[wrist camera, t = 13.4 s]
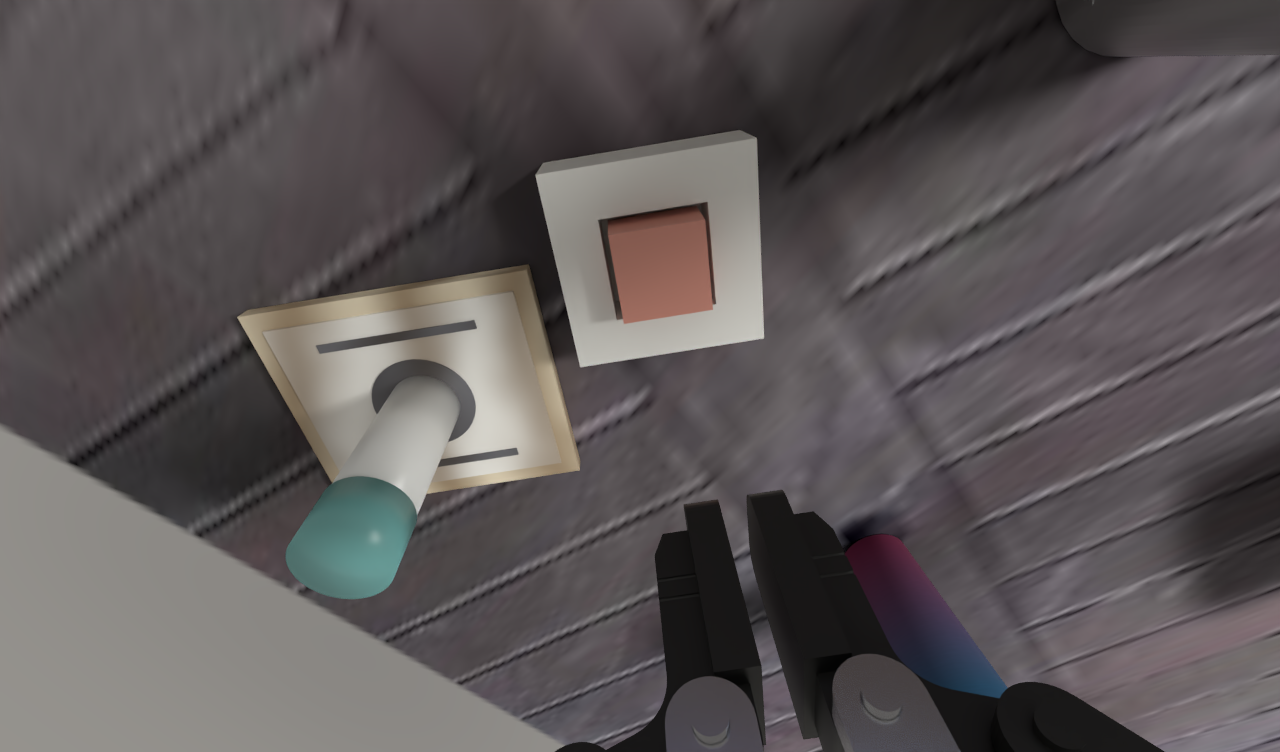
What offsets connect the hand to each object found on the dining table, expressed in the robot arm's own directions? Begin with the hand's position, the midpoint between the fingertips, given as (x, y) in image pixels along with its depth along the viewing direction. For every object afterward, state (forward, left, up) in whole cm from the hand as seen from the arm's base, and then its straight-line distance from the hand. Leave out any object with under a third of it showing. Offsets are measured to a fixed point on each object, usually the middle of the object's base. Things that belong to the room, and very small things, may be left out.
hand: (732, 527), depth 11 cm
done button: (0, 0, -19) cm, 19 cm away
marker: (+15, +7, -20) cm, 26 cm away
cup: (-14, +28, -21) cm, 38 cm away
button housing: (0, 0, -21) cm, 21 cm away
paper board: (+15, +7, -21) cm, 27 cm away
